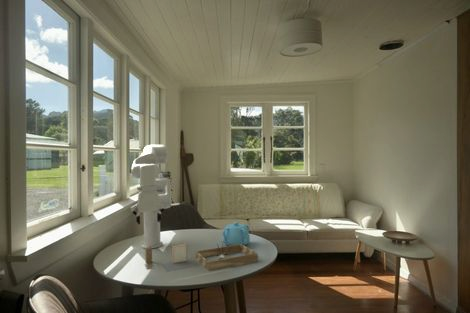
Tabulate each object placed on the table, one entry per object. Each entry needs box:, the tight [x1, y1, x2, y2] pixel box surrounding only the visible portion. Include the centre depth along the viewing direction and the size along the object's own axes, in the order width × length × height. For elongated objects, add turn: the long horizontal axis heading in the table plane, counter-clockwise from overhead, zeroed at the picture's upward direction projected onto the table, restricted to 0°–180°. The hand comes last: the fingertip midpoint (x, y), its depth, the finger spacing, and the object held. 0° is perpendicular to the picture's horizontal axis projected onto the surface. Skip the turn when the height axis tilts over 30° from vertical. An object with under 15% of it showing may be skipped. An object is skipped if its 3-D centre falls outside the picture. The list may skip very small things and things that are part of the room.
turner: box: [143, 246, 158, 271], centre depth 143 cm, size 11×5×8 cm, turn 26°
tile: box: [171, 244, 188, 263], centre depth 146 cm, size 2×7×8 cm, turn 116°
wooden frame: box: [194, 244, 259, 271], centre depth 149 cm, size 19×27×4 cm
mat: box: [160, 257, 200, 273], centre depth 142 cm, size 12×16×1 cm
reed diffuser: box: [216, 243, 230, 260], centre depth 150 cm, size 10×7×20 cm
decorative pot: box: [221, 221, 251, 246], centre depth 175 cm, size 16×16×14 cm
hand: (148, 222), depth 147 cm, fingers open, 9 cm apart
